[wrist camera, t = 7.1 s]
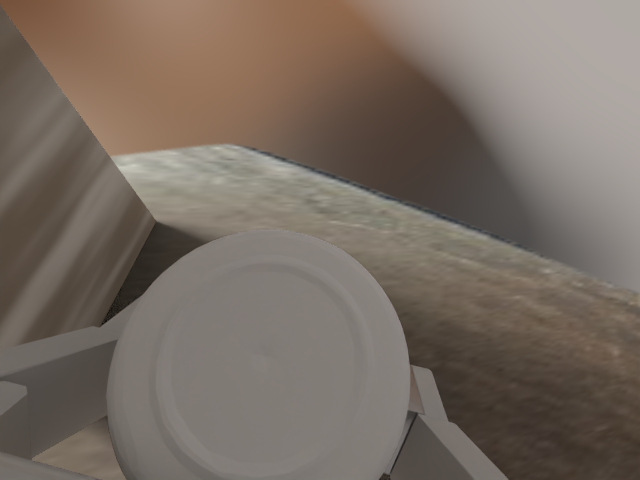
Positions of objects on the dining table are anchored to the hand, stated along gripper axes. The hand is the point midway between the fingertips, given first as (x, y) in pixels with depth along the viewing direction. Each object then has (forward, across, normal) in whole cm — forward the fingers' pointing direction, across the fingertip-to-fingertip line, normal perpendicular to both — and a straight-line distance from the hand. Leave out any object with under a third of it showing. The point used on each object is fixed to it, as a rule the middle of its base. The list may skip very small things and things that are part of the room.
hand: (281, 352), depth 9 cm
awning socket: (+11, +5, +9) cm, 15 cm away
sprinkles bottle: (+6, 0, +8) cm, 10 cm away
